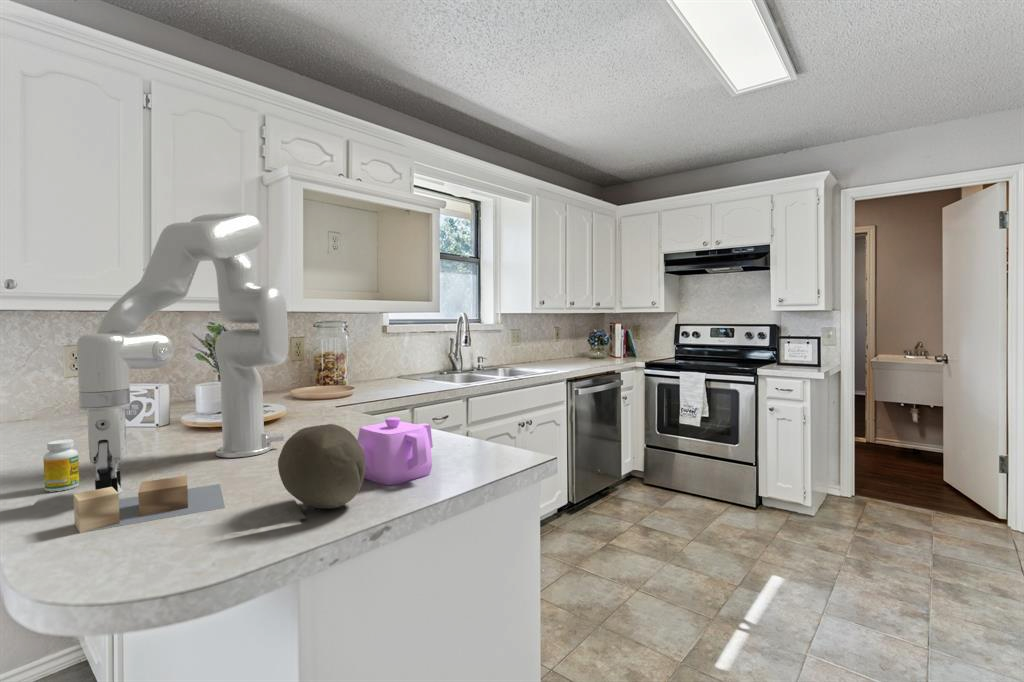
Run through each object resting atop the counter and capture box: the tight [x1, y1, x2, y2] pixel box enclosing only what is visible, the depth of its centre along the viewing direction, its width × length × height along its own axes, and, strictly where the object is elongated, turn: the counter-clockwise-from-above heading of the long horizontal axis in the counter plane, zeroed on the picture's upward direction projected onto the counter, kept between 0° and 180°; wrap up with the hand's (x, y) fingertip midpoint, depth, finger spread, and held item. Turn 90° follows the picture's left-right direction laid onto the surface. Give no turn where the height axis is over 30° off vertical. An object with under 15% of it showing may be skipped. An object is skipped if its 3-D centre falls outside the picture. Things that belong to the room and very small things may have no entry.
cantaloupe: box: [277, 423, 365, 510], centre depth 92 cm, size 14×14×15 cm
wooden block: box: [137, 475, 189, 516], centre depth 92 cm, size 7×7×4 cm
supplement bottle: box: [43, 438, 80, 493], centre depth 106 cm, size 5×5×10 cm
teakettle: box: [357, 416, 434, 486], centre depth 114 cm, size 17×17×12 cm
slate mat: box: [78, 483, 226, 534], centre depth 93 cm, size 20×16×1 cm
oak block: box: [73, 487, 120, 534], centre depth 84 cm, size 5×5×5 cm
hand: (108, 495), depth 98 cm, fingers closed on rook chess piece, 4 cm apart
